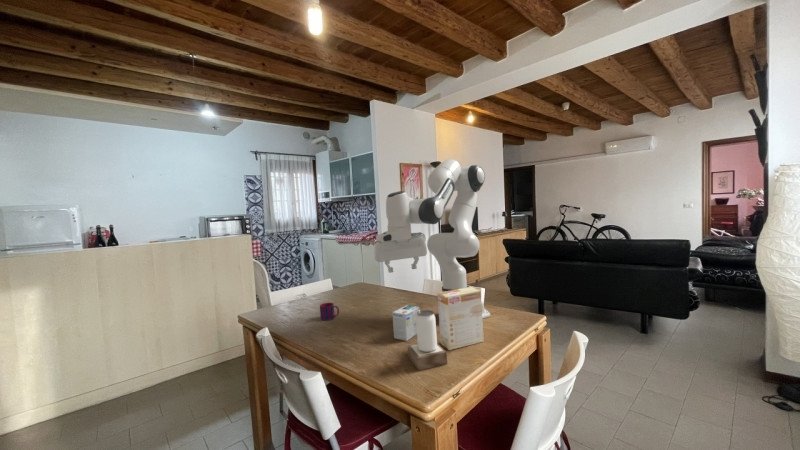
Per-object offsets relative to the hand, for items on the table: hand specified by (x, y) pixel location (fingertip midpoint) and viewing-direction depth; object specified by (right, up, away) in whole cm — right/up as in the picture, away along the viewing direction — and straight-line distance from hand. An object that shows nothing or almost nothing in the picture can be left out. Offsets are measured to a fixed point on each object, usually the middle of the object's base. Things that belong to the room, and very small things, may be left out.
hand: (402, 270), depth 117 cm
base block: (+8, -28, -14) cm, 32 cm away
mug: (-35, -29, +34) cm, 57 cm away
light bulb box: (+2, -28, +8) cm, 29 cm away
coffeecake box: (+22, -27, -2) cm, 35 cm away
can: (+8, -24, -14) cm, 29 cm away
